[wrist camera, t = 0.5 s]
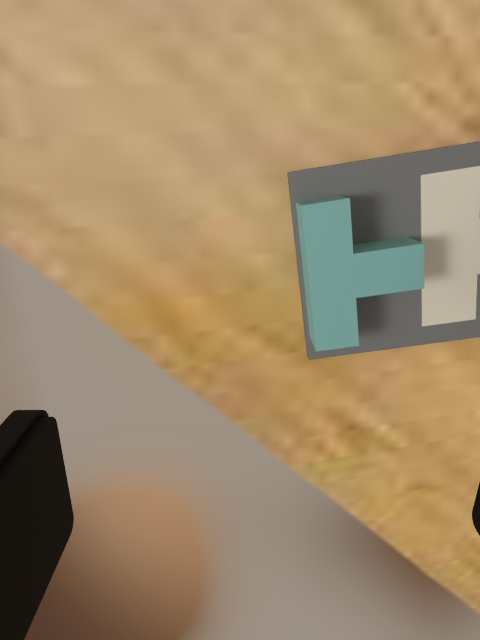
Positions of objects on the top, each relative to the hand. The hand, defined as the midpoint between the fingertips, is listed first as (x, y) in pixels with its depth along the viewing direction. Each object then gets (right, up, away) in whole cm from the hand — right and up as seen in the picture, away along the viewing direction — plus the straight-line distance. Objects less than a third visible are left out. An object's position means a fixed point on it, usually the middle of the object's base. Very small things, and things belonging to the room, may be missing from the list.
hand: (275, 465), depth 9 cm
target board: (+13, +8, +22) cm, 26 cm away
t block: (+8, +7, +21) cm, 23 cm away
